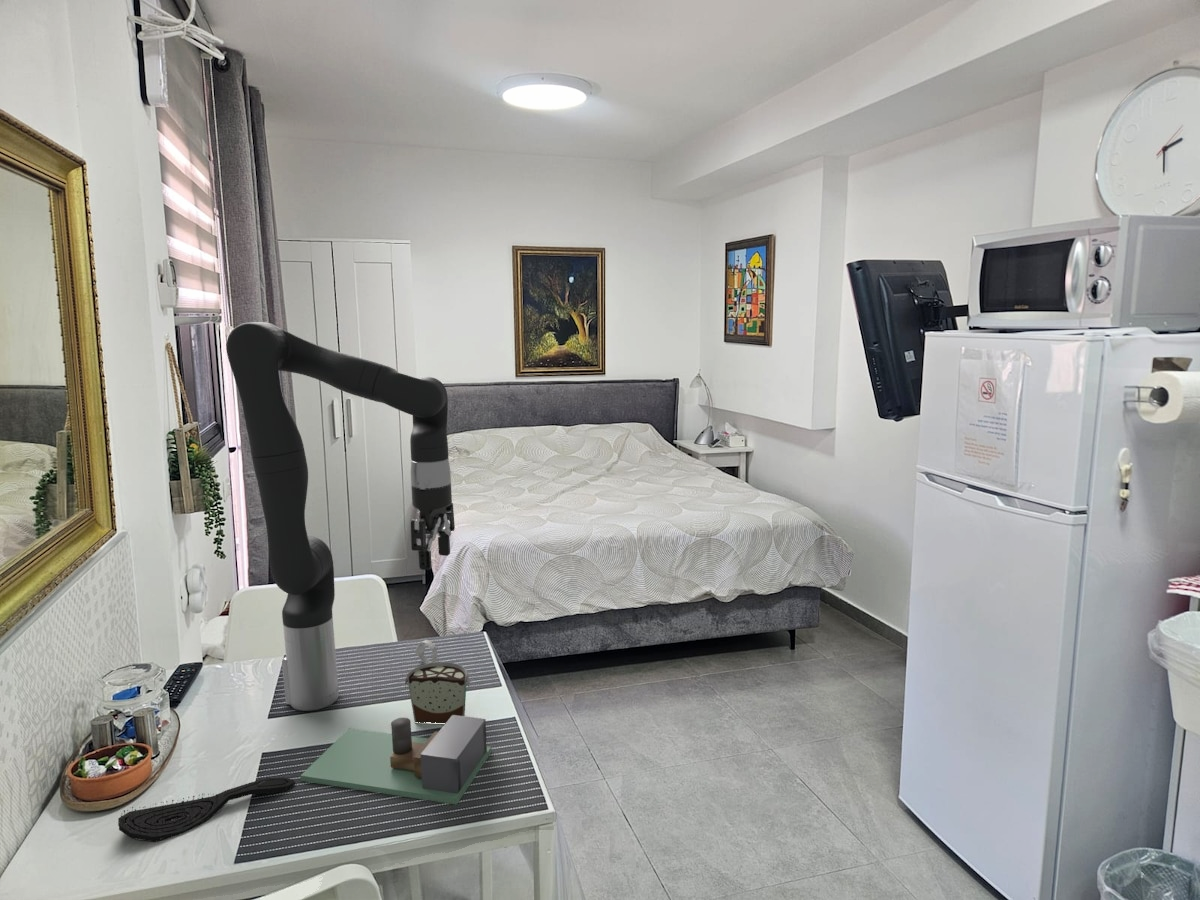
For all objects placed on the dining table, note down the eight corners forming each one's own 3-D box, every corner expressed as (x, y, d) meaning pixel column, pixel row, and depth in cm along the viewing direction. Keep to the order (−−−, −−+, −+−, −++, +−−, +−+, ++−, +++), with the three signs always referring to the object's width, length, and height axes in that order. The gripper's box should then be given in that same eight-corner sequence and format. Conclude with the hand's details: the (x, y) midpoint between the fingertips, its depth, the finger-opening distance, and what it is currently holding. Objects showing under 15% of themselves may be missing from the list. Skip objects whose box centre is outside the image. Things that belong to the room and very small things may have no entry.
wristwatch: (425, 657, 176) (423, 636, 175) (440, 663, 173) (439, 642, 172) (415, 662, 173) (413, 641, 172) (430, 668, 170) (429, 647, 169)
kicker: (383, 772, 131) (380, 734, 130) (405, 745, 139) (403, 709, 137) (423, 778, 129) (421, 739, 128) (444, 751, 137) (442, 714, 135)
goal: (422, 788, 127) (420, 754, 126) (454, 746, 139) (452, 714, 138) (458, 793, 125) (456, 759, 124) (486, 750, 137) (485, 718, 136)
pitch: (301, 780, 131) (300, 775, 131) (349, 733, 145) (349, 728, 145) (456, 804, 124) (456, 798, 124) (491, 751, 139) (491, 746, 138)
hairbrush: (299, 782, 127) (118, 831, 113) (300, 803, 127) (119, 854, 114) (289, 757, 133) (117, 801, 120) (289, 777, 134) (118, 823, 121)
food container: (478, 709, 153) (476, 661, 151) (470, 725, 147) (468, 676, 145) (417, 706, 154) (415, 659, 153) (407, 723, 148) (404, 674, 147)
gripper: (429, 473, 159) (433, 549, 162) (395, 489, 145) (400, 572, 148) (464, 474, 157) (467, 552, 160) (432, 491, 143) (437, 575, 146)
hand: (435, 561), depth 154 cm, fingers open, 8 cm apart
